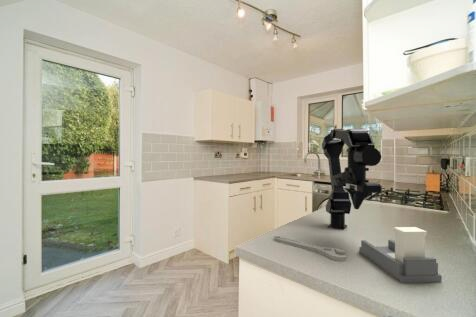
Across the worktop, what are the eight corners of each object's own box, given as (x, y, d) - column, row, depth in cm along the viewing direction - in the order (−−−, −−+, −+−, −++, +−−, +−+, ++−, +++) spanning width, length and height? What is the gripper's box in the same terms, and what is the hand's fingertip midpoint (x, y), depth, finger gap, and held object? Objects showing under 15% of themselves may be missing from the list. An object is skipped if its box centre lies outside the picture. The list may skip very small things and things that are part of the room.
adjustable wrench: (272, 241, 84) (272, 236, 84) (282, 237, 88) (282, 232, 88) (342, 264, 66) (342, 257, 66) (350, 257, 70) (350, 251, 70)
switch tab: (391, 263, 62) (391, 226, 62) (412, 262, 62) (413, 226, 62) (405, 272, 57) (406, 232, 57) (428, 272, 57) (429, 232, 57)
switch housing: (359, 251, 74) (359, 234, 73) (389, 250, 74) (389, 233, 74) (402, 282, 56) (402, 260, 55) (441, 281, 56) (441, 259, 56)
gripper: (323, 163, 89) (323, 203, 89) (348, 166, 71) (348, 216, 71) (350, 163, 90) (350, 203, 90) (383, 166, 71) (382, 215, 71)
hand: (356, 209), depth 81 cm, fingers closed
